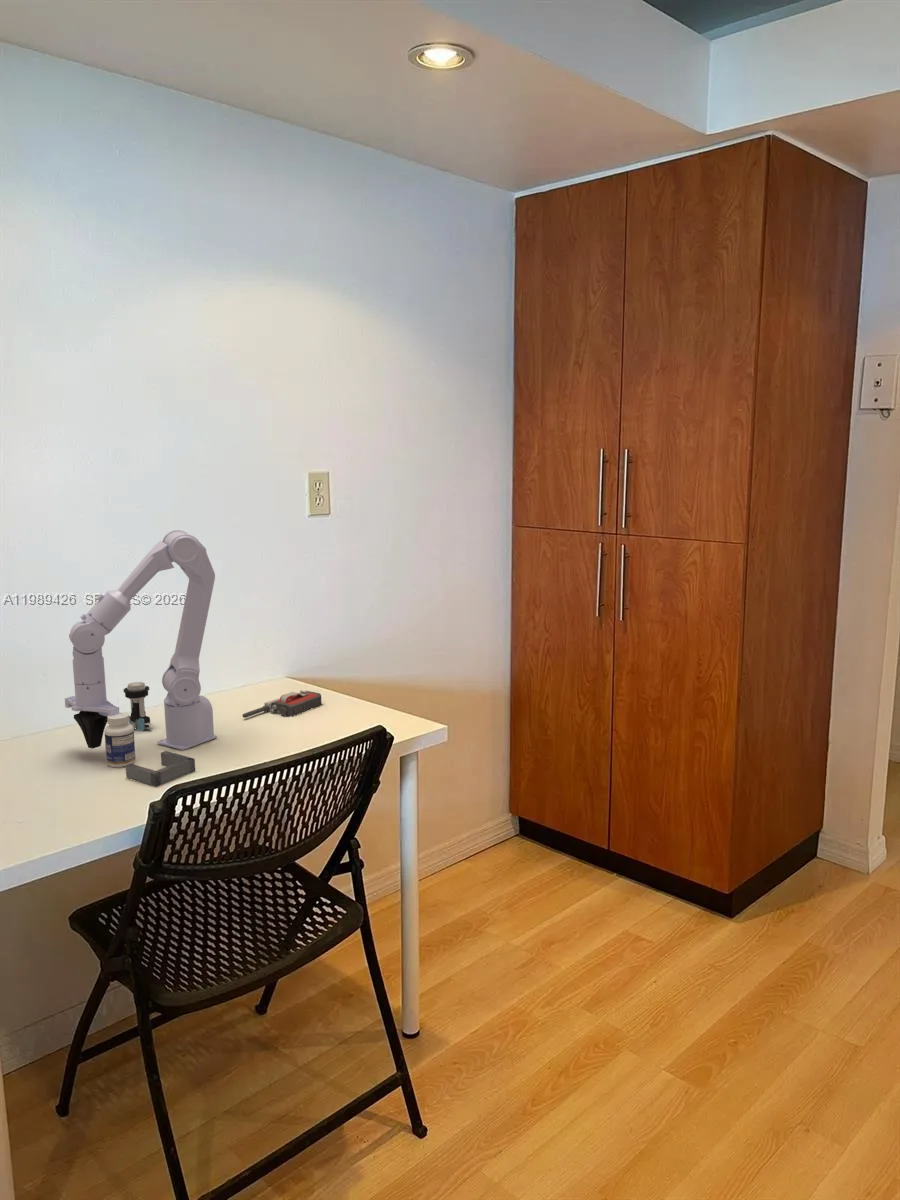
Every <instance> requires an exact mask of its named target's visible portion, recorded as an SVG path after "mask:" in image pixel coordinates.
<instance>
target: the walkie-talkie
mask: <svg viewBox="0 0 900 1200" xmlns="http://www.w3.org/2000/svg"><path fill="white" fill-rule="evenodd" d="M322 703H323V702H322V694H321V693H320V692H315V691H310V690H301V689H300V690H299V692H295V691H291V692H288V693H285V694H282V695H281V696H280V697H279V698H276V699H273V700H270V701H266V702H264V703H263V704H264V705H263V706H262V707H258V708H256V709H253V710H250V711H246V712H245V713H242V717H243V718H245V719H246V718H249V717H251V716H254V715H257V714H260V713H263V712H269V711H270V714H275V713H276V715H280V714H281V715H280V716H281V717H284V716H285V715H286V716H285V717H289V716H292V717H295V716H297V714H298V715H300V714H303V713H305V712H307V710H308V711H311V710H312V709H311V708H313V709H315V708H314V707H316V708H318V706H319V707H321V706H322ZM320 705H321V706H320ZM310 709H311V710H310ZM302 712H303V713H302ZM299 713H300V714H299ZM294 715H295V716H294Z"/></svg>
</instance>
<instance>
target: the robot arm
mask: <svg viewBox="0 0 900 1200" xmlns="http://www.w3.org/2000/svg"><path fill="white" fill-rule="evenodd" d="M173 562H174V563H175V564H176V565H178V566H179V568H180V569H181V570H182V572H183V573H184V574H185V575H186V577H187V578H188V585H187V588H186V595H185V600H184V604H183V609H182V614H181V619H180V624H179V630H178V633H177V639H176V645H175V647H174V648H175V649H174V653H173V655H171V658H170V661H169V664H168V667H167V669H166V670H165V671H164V672H163V675H162V677H161V682H162V687H163V689H164V690H165V691H166V692H167V694H166V695H165V696H166V697H165V698H164V700H163V706H164V722H165V738H162V739H159V740H157V741H156V743H157V744H158V745H163V746H166V747H169V748H174V749H177V750H180V751H185V750H187V749H190V748H192V747H195V746H197V745H200V744H203V743H206V742H208V741H211V740H212V741H213V740H214V739H216V738H217V737H218V736H217V734H215V731H214V729H215V728H214V713H213V712H214V711H213V709H214V708H213V706H212V705H213V704H212V703H211V701H210V699H208V698H207V697H206V696H203V695H200V694H201V689H202V687H201V683H200V679H199V678H200V672H201V671H200V669H201V668H200V654H201V651H202V650H201V649H202V643H203V639H204V635H205V630H206V625H207V621H208V614H209V609H210V605H211V601H212V600H211V599H212V594H213V591H214V585H215V580H216V573H215V570H214V568H213V566H212V562H211V560H210V558H209V555H208V553H207V548H206V547H205V546H204V545H203V544H202V543H201V542H200V541H199V539H198V538H196V537H195V536H194V535H192V534H189V533H188V532H186V531H184V530H180V529H178V530H177V529H174V530H172V531H169V532H168V533H166V535H164V537H163V538H162V540H159V541H158V542H157V543H156V544H155V545H154V546H153V547H152V548H151V549H150V550H149V551H148V552H147V554H146V555H145V556H144V557H143V558H142V559H141V561H140V562H139V563H138V565H136V567H135V568H134V570H132V572H131V573H130V574H129V575H128V577H126V579H125V580H124V581H123V582H122V583H121V584H120V586H119V587H118V588H117V589H113V590H107V591H106V592H105V593H104V594H103V593H100V594H98V596H97V597H96V600H97V602H96V603H95V604H94V605H93V606H92V607H91V608H90V609H89V611H88V612H87V613H86V614H85V613H83V614H81V616H80V619H81V621H80V620H79V621H77V622H76V623H75V624H73V626H71V629H70V633H69V634H68V636H69V640H70V642H71V643H72V646H73V647H72V651H71V652H72V657H73V658H72V669H73V671H72V673H73V682H74V683H73V684H74V695H72V696H68V697H65V698H64V707H65V708H67V709H71V711H74V712H78V713H76V714H73V719H74V720H75V722H77V724H78V726H79V727H80V729H81V731H82V734H83V737H84V740H85V742H86V746H87V747H88V748H89V749H96V748H99V747H101V746H102V741H103V736H104V734H105V728H106V727H107V726H106V725H107V724H108V720H107V717H108V716H114V715H117V714H119V713H120V707H119V706H117V705H114V704H113V703H111V702H110V701H109V700H107V688H106V673H105V659H104V656H103V646H104V644H105V639H106V638H105V636H107V635H109V634H111V632H112V631H113V630H114V629H115V628H116V626H117V625H118V624H119V623H120V622H121V621H122V620H123V619H124V618H125V617H126V616H127V614H128V613H130V611H131V610H132V609H131V608H132V607H131V600H133V598H135V596H136V595H137V594H138V593H139V592H140V591H142V589H143V588H144V587H145V586H146V585H147V584H148V583H149V582H150V581H151V580H152V579H153V578H154V577H155V576H156V575H157V574H158V573H159V572H162V571H167V570H171V569H174V568H175V565H173Z"/></svg>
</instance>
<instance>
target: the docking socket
mask: <svg viewBox="0 0 900 1200" xmlns="http://www.w3.org/2000/svg"><path fill="white" fill-rule="evenodd" d="M160 764H161V766H165V767H162V768H159V769H157V770H154V769H151V768H147V767H143V766H140V765H137V764H134V763H133V764H128V765H126V766H125V775H126V776H125V778H126V779H127V778H128V779H127V780H131V779H132V780H131V781H134V780H135V782H137V781H138V783H141V784H144V785H148V786H150V787H151V786H152V787H155V788H157V787H160V786H162V785H165V784H166V783H169V782H172V781H174V780H177V779H178V778H179V779H180V778H181V777H184V776H187V775H190V774H192V773H194V772H196V759H195V758H193V757H190V756H185V755H183V754H179V753H175V752H171V751H168V750H163V751H162V752H160Z"/></svg>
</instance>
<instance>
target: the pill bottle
mask: <svg viewBox="0 0 900 1200" xmlns="http://www.w3.org/2000/svg"><path fill="white" fill-rule="evenodd" d="M129 716H130V714H129V713H128V712H119V714H117V715H114V716H108V717H107V720H108V721H107V724H108V725H107V726H105V729H104V740H105V741H104V743H105V754H106V757H105V759H106V765H107V766H108V767H112V768H123V766H124V767H126V765H128V764H134V763H136V746H135V743H136V742H135V730H134V728H133V726H132V725H131V724H129V720H130V719H129Z"/></svg>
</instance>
